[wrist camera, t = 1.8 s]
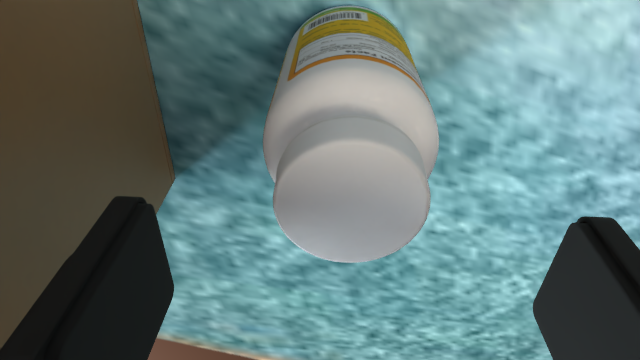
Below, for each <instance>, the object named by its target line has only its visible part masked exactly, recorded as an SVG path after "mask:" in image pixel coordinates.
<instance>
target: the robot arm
mask: <svg viewBox="0 0 640 360" xmlns="http://www.w3.org/2000/svg"><path fill="white" fill-rule="evenodd" d="M173 292H174V284H173V280H172V276H171V272H170V268H169V264H168V260H167V256H166V252H165V248H164V244H163V241H162V237H161V233H160V229H159V225H158V221H157V217H156V213H155V209H154V207H153V205H152V204H147V202H146V200H145V199H144V198H143V197H131V196H116V197H114V198H113V199H112V201H111V202H110V203H109V205H108V206H107V207H106V209H105V210H104V212H103V213H102V214H101V216H100V217H99V218H98V220H97V221H96V223H95V224H94V225H93V227H92V228H91V229H90V231H89V232H88V234H87V235H86V236H85V238H84V239H83V240H82V242H81V243H80V245H79V246H78V247H77V249H76V250H75V251H74V253H73V254H72V255H70V256H69V257H68V259H67V260H66V261H65V262H64V263H63V265H62V266H61V267H60V269H59V270H58V272H57V273H56V274H55V276H54V277H53V278H52V280H51V281H50V282H49V284H48V285H47V287H46V288H45V289H44V291H43V292H42V293H41V295H40V296H39V297H38V299H37V300H36V302H35V303H34V304H33V306H32V307H31V308H30V310H29V311H28V312H27V314H26V315H25V317H24V318H23V319H22V321H21V322H20V323H19V325H18V326H17V328H16V329H15V330H14V332H13V333H12V334H11V336H10V337H9V338H8V340H7V341H6V343H5V344H4V345H3V347H2V348H1V349H0V360H147V359H148V357H149V354H150V352H151V349H152V347H153V344H154V342H155V339H156V337H157V335H158V332H159V330H160V327H161V325H162V322H163V320H164V317H165V315H166V313H167V310H168V308H169V305H170V303H171V300H172V297H173ZM533 313H534V317H535V319H536V322H537V324H538V326H539V328H540V331H541V333H542V335H543V337H544V340H545V342H546V344H547V347H548V349H549V351H550V353H551V356H552V358H553V360H640V250H639V249H638V247H637V246H636V245H635V244H634V242H633V241H632V240H631V239H630V238H629V236H628V235H627V234H626V233H625V231H624V230H623V229H622V228H621V226H620V225H619V224H618V223H617V222H616V221H615V220H614V219H612V218H607V217H581V218H580V219H578V221H577V222H576V223H572V224H571V225H570V226H569V228H568V230H567V232H566V234H565V236H564V238H563V240H562V243H561V245H560V247H559V249H558V251H557V253H556V255H555V257H554V260H553V262H552V264H551V266H550V268H549V270H548V272H547V274H546V277H545V279H544V281H543V283H542V285H541V287H540V289H539V292H538V294H537V296H536V298H535V300H534V303H533Z"/></svg>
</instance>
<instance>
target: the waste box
mask: <svg viewBox="0 0 640 360" xmlns="http://www.w3.org/2000/svg"><path fill="white" fill-rule="evenodd" d="M174 180H175V174H174V170H173V165H172V160H171V156H170V151H169V147H168V142H167V137H166V133H165V128H164V123H163V119H162V114H161V110H160V105H159V100H158V96H157V91H156V86H155V82H154V77H153V73H152V68H151V63H150V59H149V54H148V50H147V45H146V40H145V36H144V31H143V26H142V22H141V17H140V13H139V8H138V3H137V0H0V349H1V348H2V347H3V345H4V344H5V343H6V341H7V340H8V338H9V337H10V336H11V334H12V333H13V332H14V330H15V329H16V328H17V326H18V325H19V323H20V322H21V321H22V319H23V318H24V317H25V315H26V314H27V312H28V311H29V310H30V308H31V307H32V306H33V304H34V303H35V302H36V300H37V299H38V297H39V296H40V295H41V293H42V292H43V291H44V289H45V288H46V287H47V285H48V284H49V282H50V281H51V280H52V278H53V277H54V276H55V274H56V273H57V272H58V270H59V269H60V267H61V266H62V265H63V263H64V262H65V261H66V260H67V259H68V257H69V256H70V255H72V254H73V253H74V251H75V250H76V249H77V247H78V246H79V245H80V243H81V242H82V240H83V239H84V238H85V236H86V235H87V234H88V232H89V231H90V229H91V228H92V227H93V225H94V224H95V223H96V221H97V220H98V218H99V217H100V216H101V214H102V213H103V212H104V210H105V209H106V207H107V206H108V205H109V203H110V202H111V201H112V199H113V198H114V197H116V196H131V197H143V198H144V199H145V200H146V202H147V204H152V205H153V207H154V209H155V213H156V214H157V212H158V210H159V208H160V206H161V204H162V202H163V201H164V199H165V197H166V195H167V193H168V191H169V190H170V188H171V186H172V184H173V182H174Z"/></svg>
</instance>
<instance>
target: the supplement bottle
mask: <svg viewBox="0 0 640 360" xmlns="http://www.w3.org/2000/svg"><path fill="white" fill-rule="evenodd" d="M438 147H439V135H438V126H437V123H436V119H435V116H434V113H433V110H432V107H431V104H430V102H429V99H428V97H427V94H426V92H425V89H424V87H423V85H422V82H421V80H420V77H419V75H418V72H417V70H416V67H415V65H414V62H413V59H412V57H411V54H410V52H409V49H408V47H407V44H406V42H405V40H404V38H403V37H402V35H401V33H400V32H399V31H398V29H397V28H396V27H395V26H394V25H393V24H392V23H391V22H390V21H389V20H388V19H387V18H385V17H384V16H383V15H381V14H379V13H378V12H375V11H373V10H370V9H368V8H364V7H359V6H338V7H333V8H329V9H326V10H324V11H321V12H319V13H317V14H316V15H314V16H313V17H311V18H310V19H308V20H307V21H306V22H305V23H304V24H303V25H302V26H301V27H300V28H299V29H298V30H297V32H296V33H295V35H294V36H293V38H292V40H291V42H290V44H289V46H288V49H287V52H286V54H285V58H284V61H283V65H282V68H281V71H280V75H279V78H278V81H277V85H276V88H275V91H274V95H273V98H272V101H271V104H270V107H269V110H268V114H267V117H266V122H265V127H264V134H263V152H264V158H265V162H266V165H267V168H268V171H269V173H270V175H271V177H272V179H273V181H274V182H275V188H274V194H273V208H274V213H275V216H276V219H277V222H278V224H279V226H280V228H281V229H282V231H283V232H284V233H285V235H286V236H287V237H288V238H289V239H290V240H291V241H292V242H293V243H294V244H295V245H297V246H298V247H300V248H301V249H303V250H304V251H306V252H308V253H310V254H312V255H314V256H317V257H319V258H322V259H326V260H330V261H336V262H348V263H352V262H365V261H371V260H375V259H378V258H381V257H384V256H387V255H389V254H392V253H393V252H395V251H397V250H399V249H401V248H402V247H403V246H405V245H406V244H408V243H409V242H410V241H411V240H412V239H413V238H414V237H415V236H416V235H417V233H418V232H419V231H420V230H421V228H422V226H423V225H424V223H425V221H426V219H427V216H428V212H429V208H430V189H429V185H428V180H427V179H428V178H429V176H430V174H431V172H432V170H433V167H434V165H435V162H436V158H437V154H438Z"/></svg>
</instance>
